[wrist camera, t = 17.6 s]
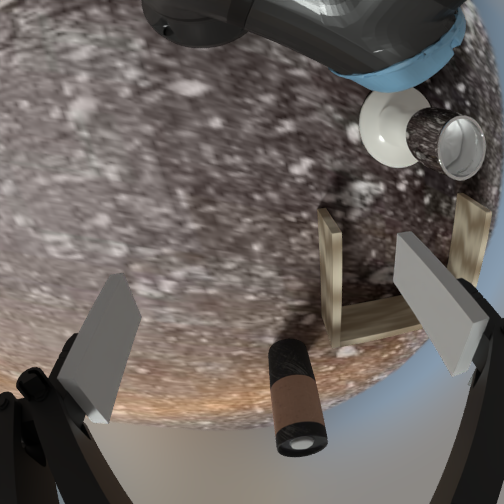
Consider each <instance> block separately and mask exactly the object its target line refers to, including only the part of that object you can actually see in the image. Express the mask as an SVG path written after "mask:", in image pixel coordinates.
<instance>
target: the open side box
mask: <svg viewBox="0 0 504 504" xmlns="http://www.w3.org/2000/svg"><path fill="white" fill-rule="evenodd" d="M317 213H318V230H319V249H320V274H321V314H322V318H323V322H324V325H325V328H326V331H327V334H328V337H329V340H330V344H331V347H332V349H333V348H338V347H344V346H349V345H354V344H359V343H363V342H368V341H373V340H377V339H382V338H386V337H390V336H395V335H399V334H403V333H407V332H411V331H415V330H419V329H423V327H422V325H421V324H420V322H419V320H418V319H417V317H416V316H415V314H414V312H413V311H412V309H411V308H410V306H409V305H408V303H407V302H406V300H405V299H404V297H403V296H402V295H399V296H394V297H389V298H384V299H379V300H374V301H369V302H364V303H358V304H353V305H347V306H342V307H341V305H342V232H341V230H340V229H339V227H338V226H337V224H336V223H335V221H334V220H333V218H332V217H331V215H330V214H329V212H328V211H327V209H326V208H321V209H317ZM491 216H492V212H491V211H490V210H488V209H487V208H485V207H484V206H482V205H481V204H479V203H478V202H476V201H475V200H473V199H472V198H470V197H469V196H467V195H465V194H464V193H457V202H456V211H455V220H454V227H453V234H452V241H451V247H450V253H449V259H448V264H447V269H448V270H449V271H450V273H451V274H452V275H453V276H454V277H455V278H456V279H458V278H463V279H465V280H467V281H468V282H470V283H472V285H473V286H474V287H475V288H476V286H477V282H478V278H479V274H480V270H481V266H482V262H483V257H484V253H485V248H486V243H487V238H488V233H489V228H490V222H491Z"/></svg>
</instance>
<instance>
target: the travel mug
mask: <svg viewBox="0 0 504 504" xmlns="http://www.w3.org/2000/svg"><path fill="white" fill-rule="evenodd" d="M268 359H269V376H270V391H271V401H272V410H273V419H274V428H275V436H276V445H277V450H278V452H279V453H280V454H281V455H283V456H287V457H303V456H308V455H312V454H315V453H317V452H319V451H321V450H322V449H324V448H325V447H326V446H327V444H328V441H327V434H326V429H325V423H324V418H323V413H322V409H321V404H320V399H319V394H318V390H317V385H316V381H315V377H314V374H313V370H312V366H311V363H310V359H309V355H308V352H307V349H306V346H305V345H304V344H303V343H302V342H301V341H299V340H295V339H285V340H281V341H279V342H277V343H275V344H274V345H273V346H272V347H271V348H270V350H269V353H268Z"/></svg>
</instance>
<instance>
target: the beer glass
mask: <svg viewBox="0 0 504 504" xmlns="http://www.w3.org/2000/svg"><path fill="white" fill-rule="evenodd" d="M378 128H379V132H380V135H381V137H382V138H383V139H384V141H385V142H387V143H388V144H390V145H392V146H394V147H403V148H404V149H406V150H407V151H408V152H409V153H410V154H411V155H412V156H413V157H414V158H415V159H417V160H418V161H419V162H420V163H422V164H423V165H425V166H427V167H428V168H430V169H432V170H434V171H436V172H438V173H441V174H443V175H446V176H448V177H450V178H452V179H455V180H466V179H469V178H470V177H472V176H473V175H474V174H476V173H477V171H478V170H479V169H480V167H481V165H482V163H483V160H484V157H485V152H486V142H485V137H484V133H483V131H482V129H481V127H480V125H479V124H478V123H477V122H476V121H475V120H474V119H472V118H471V117H468V116H464V115H462V114H459V113H457V112H454V111H451V110H447V109H443V108H437V107H425V108H417V109H411V108H409V107H407V106H405V105H403V104H391V105H389V106H387V107H386V108H385V109H384V110H383V111H382V112H381V114H380V117H379V120H378Z"/></svg>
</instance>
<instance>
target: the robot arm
mask: <svg viewBox="0 0 504 504" xmlns="http://www.w3.org/2000/svg"><path fill="white" fill-rule="evenodd" d="M141 1H142V9H143V12H144V15H145V17H146V19H147V21H148V23H149V24H150V25H151V27H152V28H153V29H154V30H155V31H156V32H157V33H159V34H160V35H161V36H163V37H164V38H166V39H167V40H169V41H171V42H173V43H175V44H178V45H181V46H185V47H190V48H211V47H217V46H221V45H224V44H227V43H230V42H232V41H234V40H236V39H238V38H240V37H241V36H243V35H244V34H246V33H247V32H248V31H249V32H252V33H254V34H257V35H259V36H262V37H264V38H267V39H269V40H271V41H274V42H276V43H279V44H281V45H283V46H285V47H288V48H290V49H292V50H294V51H296V52H298V53H301V54H303V55H305V56H307V57H309V58H311V59H313V60H315V61H317V62H319V63H321V64H323V65H325V66H327V67H328V69H329V70H330V71H331V72H333V73H334V74H336V75H338V76H340V77H344V78H348V79H351V80H353V81H355V82H357V83H358V84H360V85H362V86H364V87H366V88H368V89H370V90H373V91H378V92H382V93H392V92H400V91H404V90H407V89H409V88H412V87H414V86H416V85H418V84H420V83H422V82H424V81H425V80H427V79H429V78H430V77H431V76H433V75H434V74H435V73H437V72H438V71H439V70H440V69H441V68H442V67H443V66H445V65H446V63H447V62H448V61H449V60H450V59H451V57H452V56H453V55H454V52H453V50H452V49H453V48H454V47H456V46H458V45H460V44H461V42H462V40H463V37H464V34H465V29H466V21H465V17H464V14H463V13H462V10H461V8H460V6H461V5H462V4H463V3H464V2H465V1H466V0H141ZM393 282H394V284H395V285H396V287H397V288H398V290H399V291H400V293H401V294H402V296H403V297H404V299H405V300H406V302H407V303H408V305H409V306H410V308H411V309H412V311H413V312H414V314H415V316H416V317H417V319H418V320H419V322H420V324H421V325H422V327H423V328H424V330H425V332H426V333H427V335H428V336H429V338H430V340H431V341H432V343H433V345H434V346H435V348H436V350H437V351H438V353H439V355H440V357H441V358H442V360H443V362H444V363H445V365H446V367H447V369H448V371H449V372H450V374H451V376H452V377H453V376H455V375H458V374H461V373H464V372H466V371H467V370H468V369H469V366H470V364H471V362H472V361H473V363H474V364H475V366H476V369H475V371H474V373H473V375H472V377H471V379H470V381H469V383H468V385H469V386H470V384H471V387H470V391H469V395H468V399H467V403H466V407H465V410H464V414H463V417H462V420H461V424H460V427H459V430H458V433H457V436H456V439H455V442H454V445H453V448H452V451H451V454H450V457H449V459H448V462H447V464H446V467H445V470H444V472H443V475H442V477H441V480H440V482H439V484H438V486H437V489H436V491H435V493H434V495H433V498H432V500H431V502H430V504H496V503H497V500H498V497H499V494H500V491H501V488H502V484H503V481H504V318H501V317H500V316H499V314H498V313H497V312H496V311H495V310H494V308H493V307H492V306H491V305H490V304H489V303H488V301H487V300H486V299H485V298H483V296H482V295H481V293H479V292H478V290H477V289H476V288H475V287H474V286H473V285H472V283H470V282H468V281H467V280H465V279H463V278H458V279H456V278H455V277H454V276H453V275H452V274H451V273H450V271H449V270H448V269H447V268H446V267H445V266H444V265H443V264H442V263H441V262H440V261H439V260H438V258H437V257H436V256H435V255H434V254H433V253H432V252H431V251H430V250H429V249H428V248H427V247H426V246H425V245H424V244H423V243H422V242H421V241H420V240H419V239H418V238H417V237H416V236H415V235H414V234H413V233H412V232H411V231H410V232H403V233H397V245H396V257H395V267H394V276H393ZM141 318H142V316H141V314H140V312H139V309H138V307H137V305H136V302H135V300H134V297H133V295H132V292H131V290H130V287H129V285H128V282H127V280H126V277H125V275H124V273H119V274H112V275H110V276H109V278H108V280H107V281H106V283H105V285H104V287H103V288H102V290H101V292H100V294H99V296H98V297H97V299H96V301H95V303H94V305H93V307H92V308H91V310H90V312H89V314H88V316H87V318H86V320H85V322H84V324H83V326H82V327H81V329H80V331H79V333H74V334H73V335H72V336H71V337H70V338H69V339H68V340H67V341H66V343H65V345H64V347H63V349H62V352H61V353H60V355H59V359H57V361H56V363H55V365H54V367H53V369H52V371H51V374H50V376H49V378H47V376H46V375H45V374H44V372H43V371H42V370H41V369H40V368H38V367H32V368H30V369H27V370H26V371H24V372H23V373H22V374H21V375H20V377H19V378H18V380H17V383H16V388H17V389H18V390H19V391H20V393H21V394H22V395H23V396H24V397H25V398H21V399H16V397H15V396H14V395H13V394H12V393H11V392H3V393H1V394H0V504H59V500H58V494H57V489H56V485H57V487H58V489H59V492H60V494H61V496H62V498H63V500H64V502H65V504H133V503H132V501H131V500H130V498H129V497H128V496H127V494H126V492H125V491H124V490H123V488H122V486H121V485H120V483H119V482H118V480H117V478H116V477H115V475H114V474H113V472H112V470H111V469H110V467H109V465H108V464H107V462H106V460H105V458H104V457H103V455H102V453H101V452H100V449H99V448H98V446H97V444H96V442H95V440H94V438H93V437H92V435H91V433H90V431H89V429H88V427H87V425H86V424H85V423H84V422H83V421H84V418H85V415H87V416H88V418H89V419H90V420H91V421H92V422H94V423H105V424H109V421H110V417H111V413H112V410H113V406H114V403H115V399H116V396H117V392H118V389H119V386H120V382H121V379H122V376H123V373H124V369H125V366H126V363H127V360H128V357H129V354H130V350H131V347H132V344H133V341H134V338H135V335H136V332H137V329H138V326H139V324H140V321H141ZM55 482H56V483H55Z"/></svg>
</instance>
